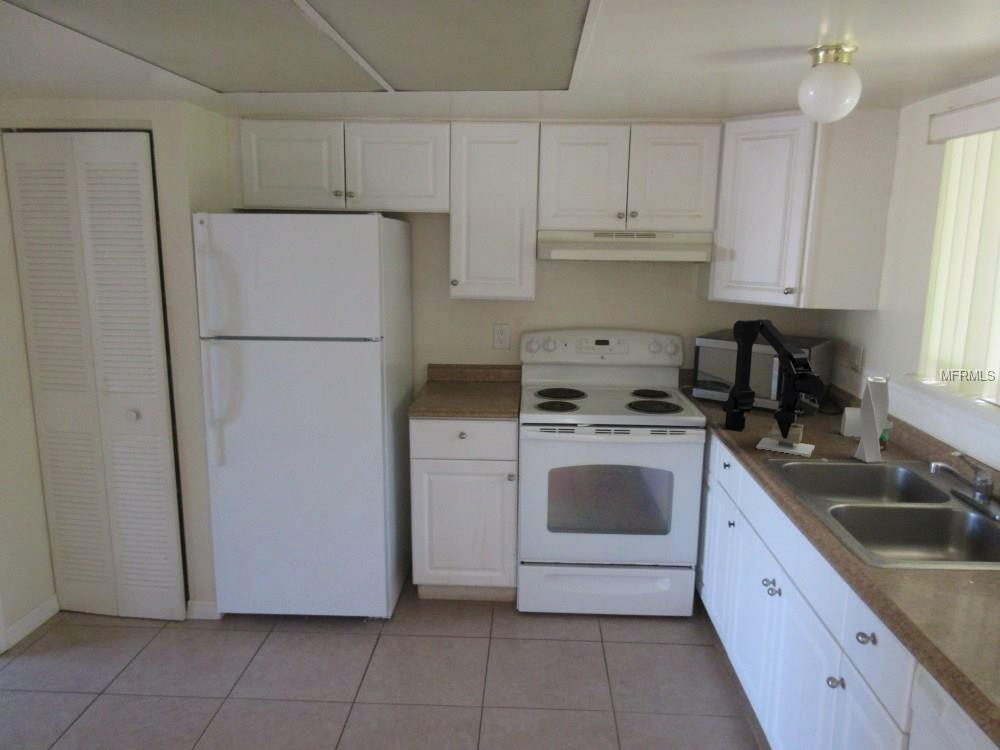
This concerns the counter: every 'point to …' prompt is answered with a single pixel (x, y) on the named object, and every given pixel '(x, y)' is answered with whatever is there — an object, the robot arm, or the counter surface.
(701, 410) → the counter surface
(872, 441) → the skyscraper
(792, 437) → the beige open box
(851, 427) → the tea bag
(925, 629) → the counter surface
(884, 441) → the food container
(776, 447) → the post stand
